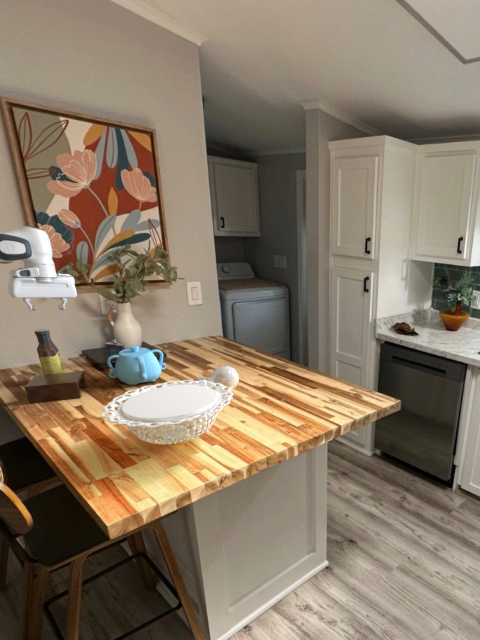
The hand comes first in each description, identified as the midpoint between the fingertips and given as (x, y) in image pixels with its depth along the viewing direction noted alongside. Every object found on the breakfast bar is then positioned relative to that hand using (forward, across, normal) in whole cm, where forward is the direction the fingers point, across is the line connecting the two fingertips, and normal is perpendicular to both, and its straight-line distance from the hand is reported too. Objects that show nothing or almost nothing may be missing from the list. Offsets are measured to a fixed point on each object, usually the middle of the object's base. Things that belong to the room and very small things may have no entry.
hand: (47, 310), depth 156 cm
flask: (+23, -20, +6) cm, 31 cm away
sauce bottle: (+26, +5, +10) cm, 28 cm away
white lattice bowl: (+32, +6, +88) cm, 94 cm away
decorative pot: (+26, -14, +32) cm, 44 cm away
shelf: (+28, +10, +25) cm, 38 cm away
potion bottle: (+28, -24, +67) cm, 76 cm away
